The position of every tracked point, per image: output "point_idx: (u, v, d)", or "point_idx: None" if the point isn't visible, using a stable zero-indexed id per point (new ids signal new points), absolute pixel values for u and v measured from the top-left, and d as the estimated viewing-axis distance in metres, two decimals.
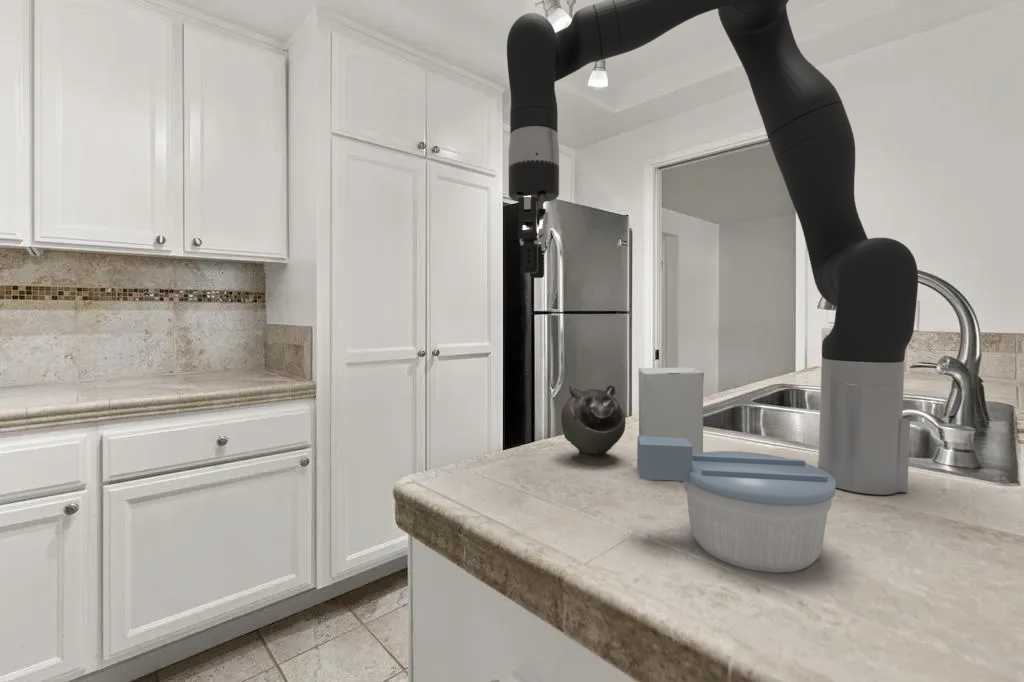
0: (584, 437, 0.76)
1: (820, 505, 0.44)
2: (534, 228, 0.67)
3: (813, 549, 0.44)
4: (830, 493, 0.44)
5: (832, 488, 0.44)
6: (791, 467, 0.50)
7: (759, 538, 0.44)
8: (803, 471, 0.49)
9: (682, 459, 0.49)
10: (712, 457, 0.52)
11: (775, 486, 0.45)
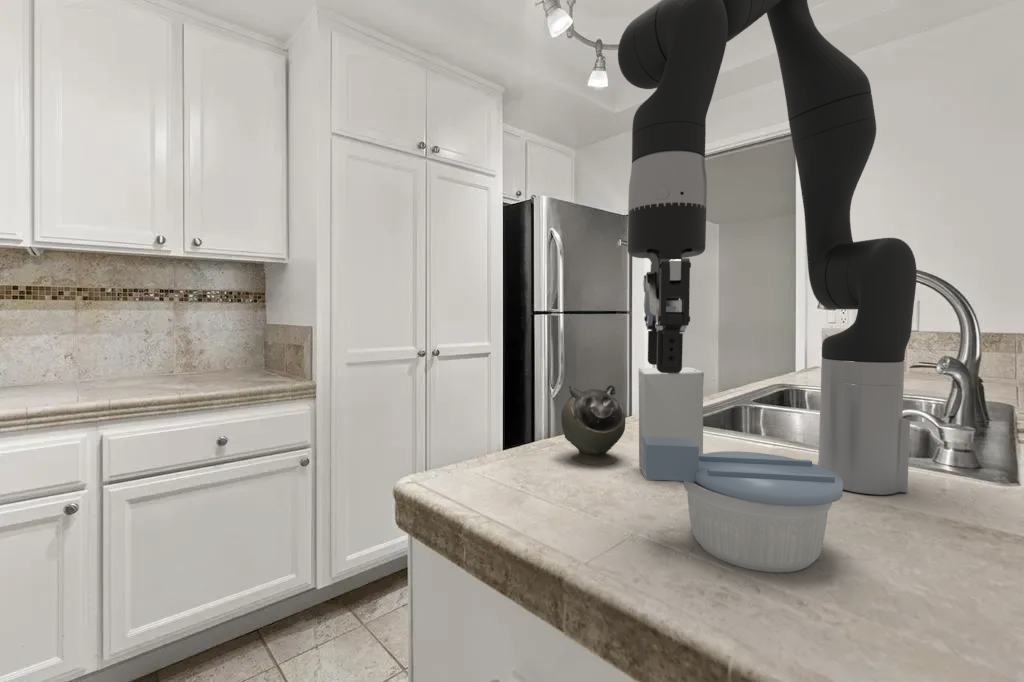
0: (584, 437, 0.76)
1: (820, 505, 0.44)
2: (686, 311, 0.43)
3: (813, 549, 0.44)
4: (837, 494, 0.44)
5: (839, 489, 0.44)
6: (798, 467, 0.50)
7: (760, 538, 0.44)
8: (810, 472, 0.49)
9: (688, 459, 0.49)
10: (718, 457, 0.52)
11: (782, 487, 0.44)
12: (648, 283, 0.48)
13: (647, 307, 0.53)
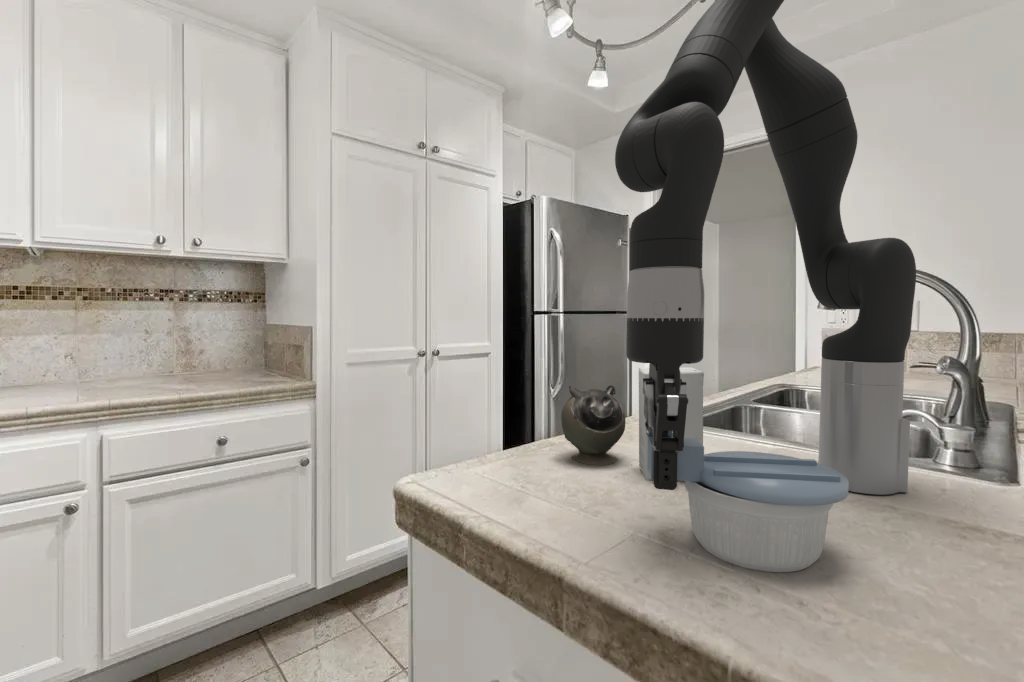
0: (584, 437, 0.76)
1: (822, 505, 0.44)
2: (681, 442, 0.46)
3: (815, 549, 0.45)
4: (844, 493, 0.44)
5: (845, 488, 0.44)
6: (803, 467, 0.50)
7: (761, 538, 0.44)
8: (815, 471, 0.49)
9: (693, 459, 0.49)
10: (723, 457, 0.52)
11: (788, 486, 0.44)
12: (646, 396, 0.49)
13: (647, 412, 0.52)
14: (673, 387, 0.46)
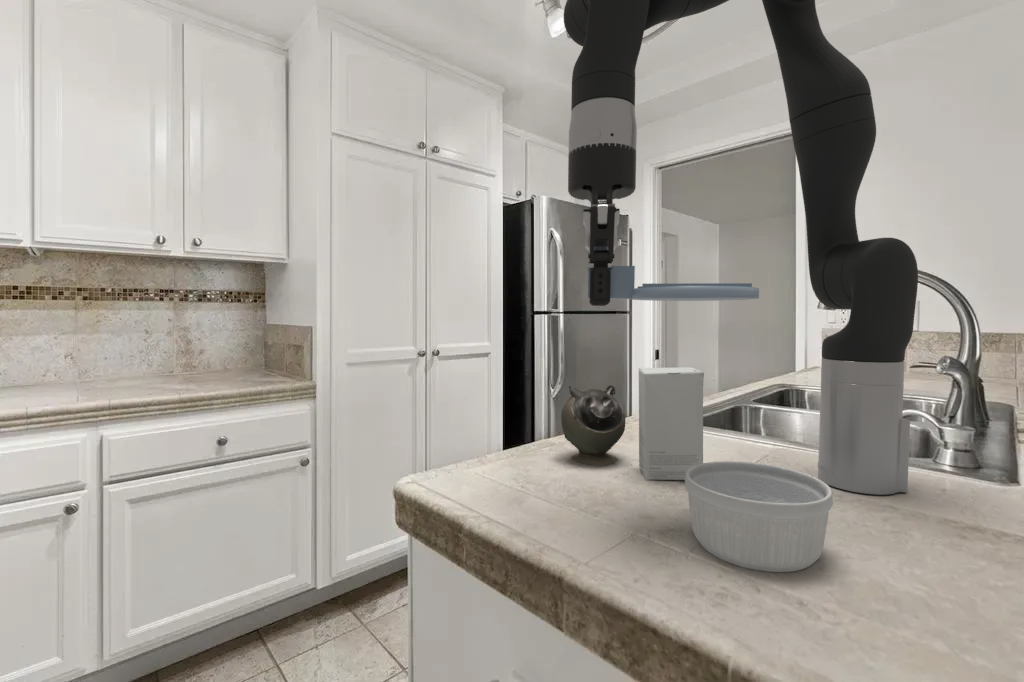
0: (584, 437, 0.76)
1: (822, 505, 0.44)
2: (611, 251, 0.51)
3: (815, 549, 0.45)
4: (752, 291, 0.50)
5: (754, 288, 0.50)
6: None
7: (761, 538, 0.44)
8: None
9: (625, 277, 0.54)
10: None
11: None
12: (584, 221, 0.54)
13: None
14: (605, 202, 0.51)
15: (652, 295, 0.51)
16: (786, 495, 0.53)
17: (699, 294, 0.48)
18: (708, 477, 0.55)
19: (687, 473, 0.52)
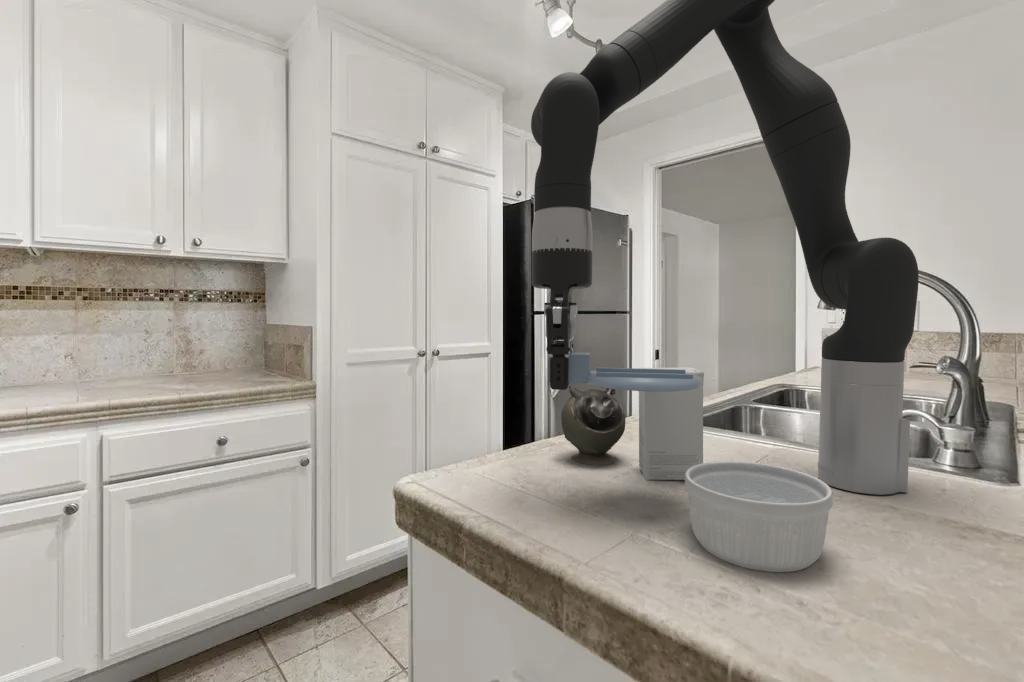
0: (584, 437, 0.76)
1: (821, 505, 0.44)
2: (566, 346, 0.57)
3: (815, 549, 0.45)
4: (691, 385, 0.55)
5: (693, 381, 0.56)
6: None
7: (761, 538, 0.44)
8: None
9: (581, 365, 0.60)
10: (611, 368, 0.63)
11: (648, 380, 0.56)
12: None
13: None
14: (560, 302, 0.57)
15: (602, 386, 0.57)
16: (786, 495, 0.53)
17: (641, 389, 0.54)
18: (708, 477, 0.55)
19: (687, 473, 0.52)
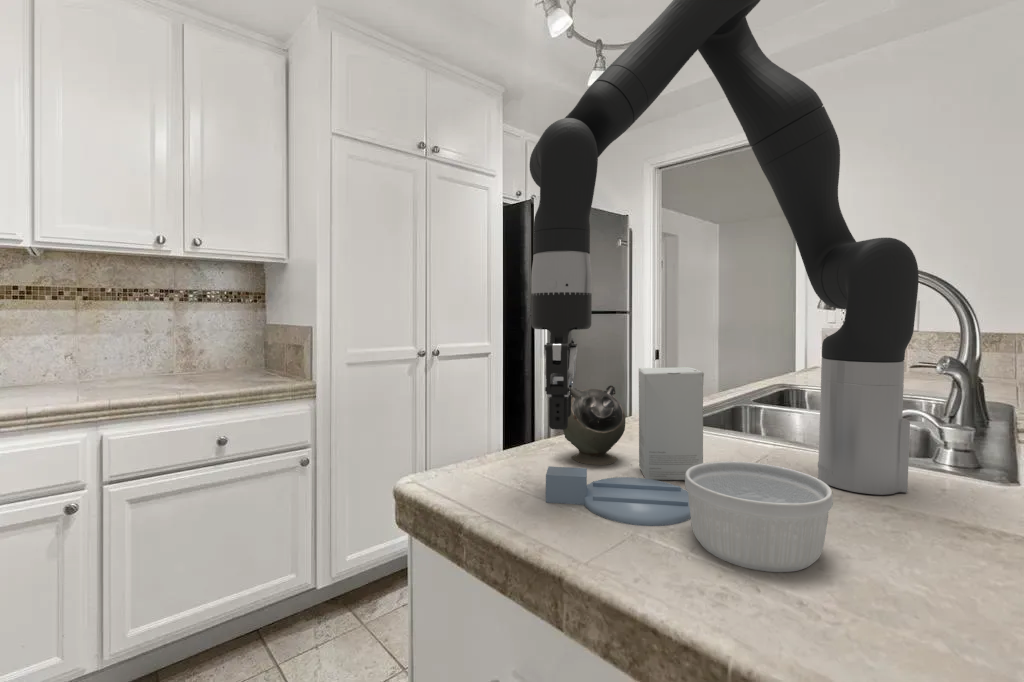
0: (584, 437, 0.76)
1: (822, 505, 0.44)
2: (565, 385, 0.56)
3: (815, 549, 0.45)
4: (686, 515, 0.56)
5: (688, 511, 0.56)
6: (668, 492, 0.62)
7: (761, 538, 0.44)
8: (676, 496, 0.61)
9: (578, 487, 0.61)
10: (608, 483, 0.64)
11: (643, 510, 0.57)
12: (544, 354, 0.60)
13: None
14: (560, 342, 0.57)
15: (599, 514, 0.57)
16: (786, 495, 0.53)
17: (637, 523, 0.55)
18: (708, 477, 0.55)
19: (687, 473, 0.52)
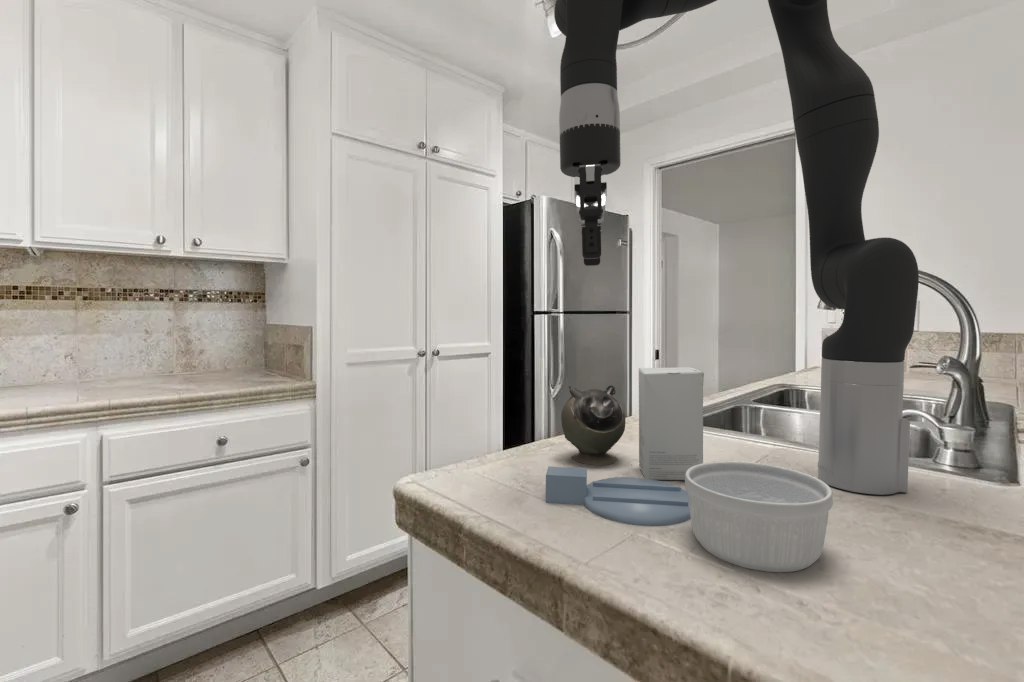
0: (584, 437, 0.76)
1: (822, 505, 0.44)
2: (599, 204, 0.55)
3: (815, 549, 0.45)
4: (686, 515, 0.56)
5: (688, 511, 0.56)
6: (668, 492, 0.62)
7: (761, 538, 0.44)
8: (676, 496, 0.61)
9: (578, 487, 0.61)
10: (608, 483, 0.64)
11: (643, 510, 0.57)
12: (575, 191, 0.61)
13: (579, 217, 0.65)
14: None
15: (599, 514, 0.57)
16: (786, 495, 0.53)
17: (637, 523, 0.55)
18: (708, 477, 0.55)
19: (687, 473, 0.52)
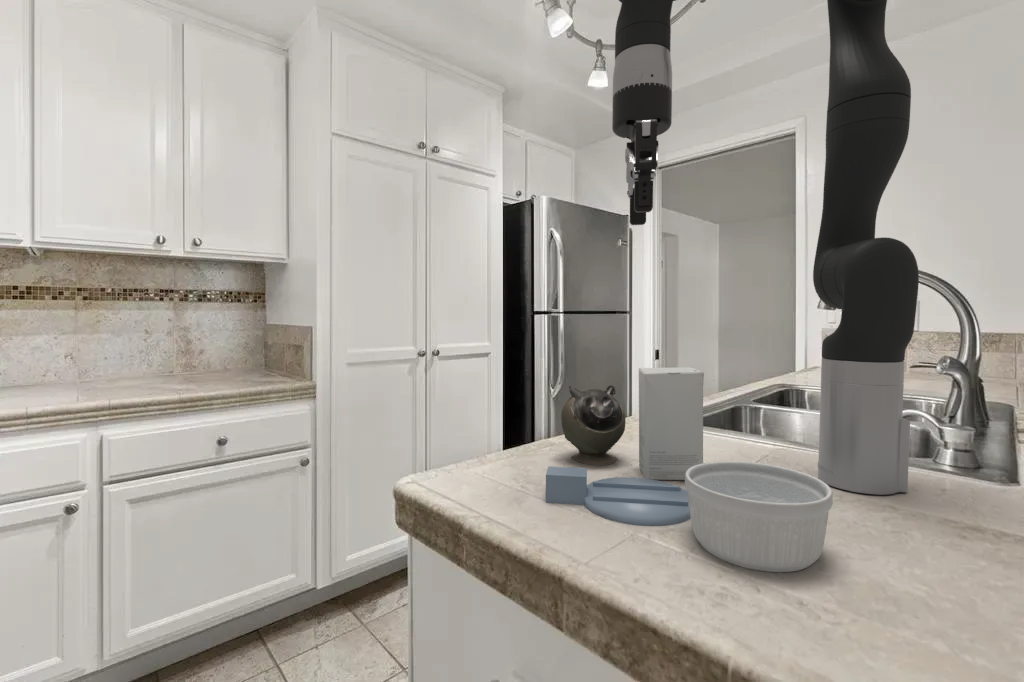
0: (584, 437, 0.76)
1: (822, 505, 0.44)
2: (654, 157, 0.58)
3: (815, 548, 0.45)
4: (686, 515, 0.56)
5: (688, 511, 0.56)
6: (668, 492, 0.62)
7: (761, 538, 0.44)
8: (676, 496, 0.61)
9: (578, 487, 0.61)
10: (608, 483, 0.64)
11: (643, 510, 0.57)
12: (627, 148, 0.63)
13: (628, 176, 0.68)
14: None
15: (599, 514, 0.57)
16: (786, 495, 0.53)
17: (637, 523, 0.55)
18: (708, 477, 0.55)
19: (687, 473, 0.52)
